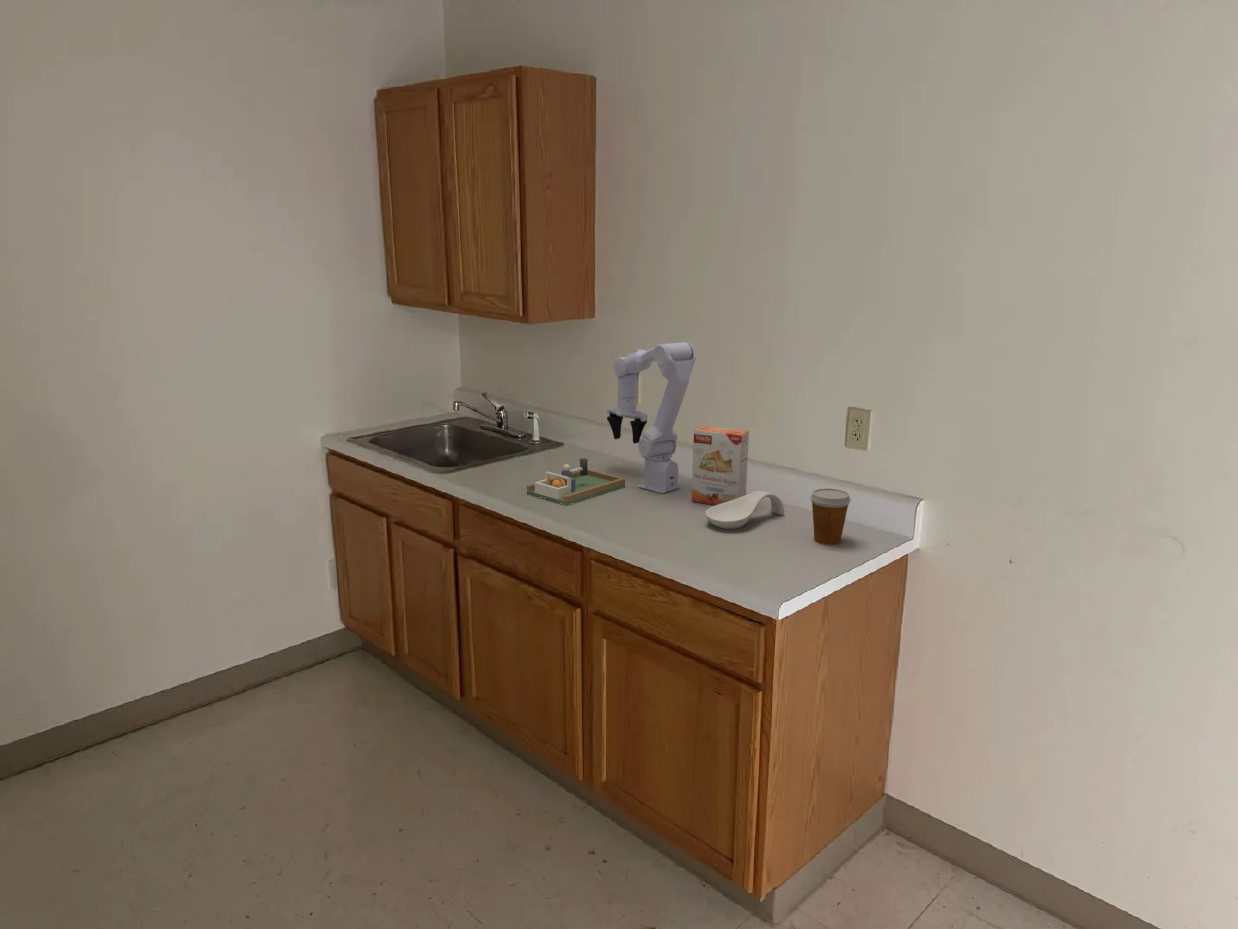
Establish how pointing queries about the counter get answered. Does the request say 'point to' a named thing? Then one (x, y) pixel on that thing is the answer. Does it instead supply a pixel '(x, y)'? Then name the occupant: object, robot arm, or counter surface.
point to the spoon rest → (741, 510)
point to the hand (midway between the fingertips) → (626, 440)
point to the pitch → (576, 487)
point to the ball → (558, 483)
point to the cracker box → (719, 464)
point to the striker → (575, 471)
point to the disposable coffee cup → (829, 514)
